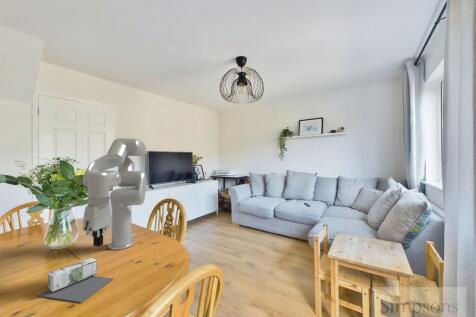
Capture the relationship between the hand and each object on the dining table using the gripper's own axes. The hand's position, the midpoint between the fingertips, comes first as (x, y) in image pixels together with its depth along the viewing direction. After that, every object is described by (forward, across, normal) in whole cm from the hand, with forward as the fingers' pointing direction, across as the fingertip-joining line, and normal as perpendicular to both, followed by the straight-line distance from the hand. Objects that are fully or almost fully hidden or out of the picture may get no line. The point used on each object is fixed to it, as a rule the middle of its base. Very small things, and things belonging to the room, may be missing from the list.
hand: (98, 245), depth 87 cm
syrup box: (+8, 0, -1) cm, 9 cm away
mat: (+12, +9, 0) cm, 15 cm away
